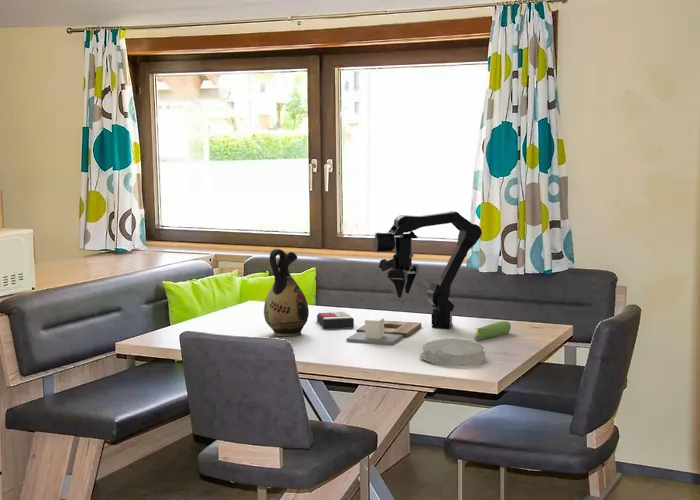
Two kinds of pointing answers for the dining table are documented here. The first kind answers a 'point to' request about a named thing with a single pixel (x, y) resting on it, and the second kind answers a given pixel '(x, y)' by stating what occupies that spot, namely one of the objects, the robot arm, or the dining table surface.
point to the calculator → (335, 320)
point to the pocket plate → (402, 328)
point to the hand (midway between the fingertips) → (403, 295)
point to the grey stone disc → (453, 352)
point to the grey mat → (386, 339)
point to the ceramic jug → (285, 298)
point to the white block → (374, 328)
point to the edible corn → (493, 330)
